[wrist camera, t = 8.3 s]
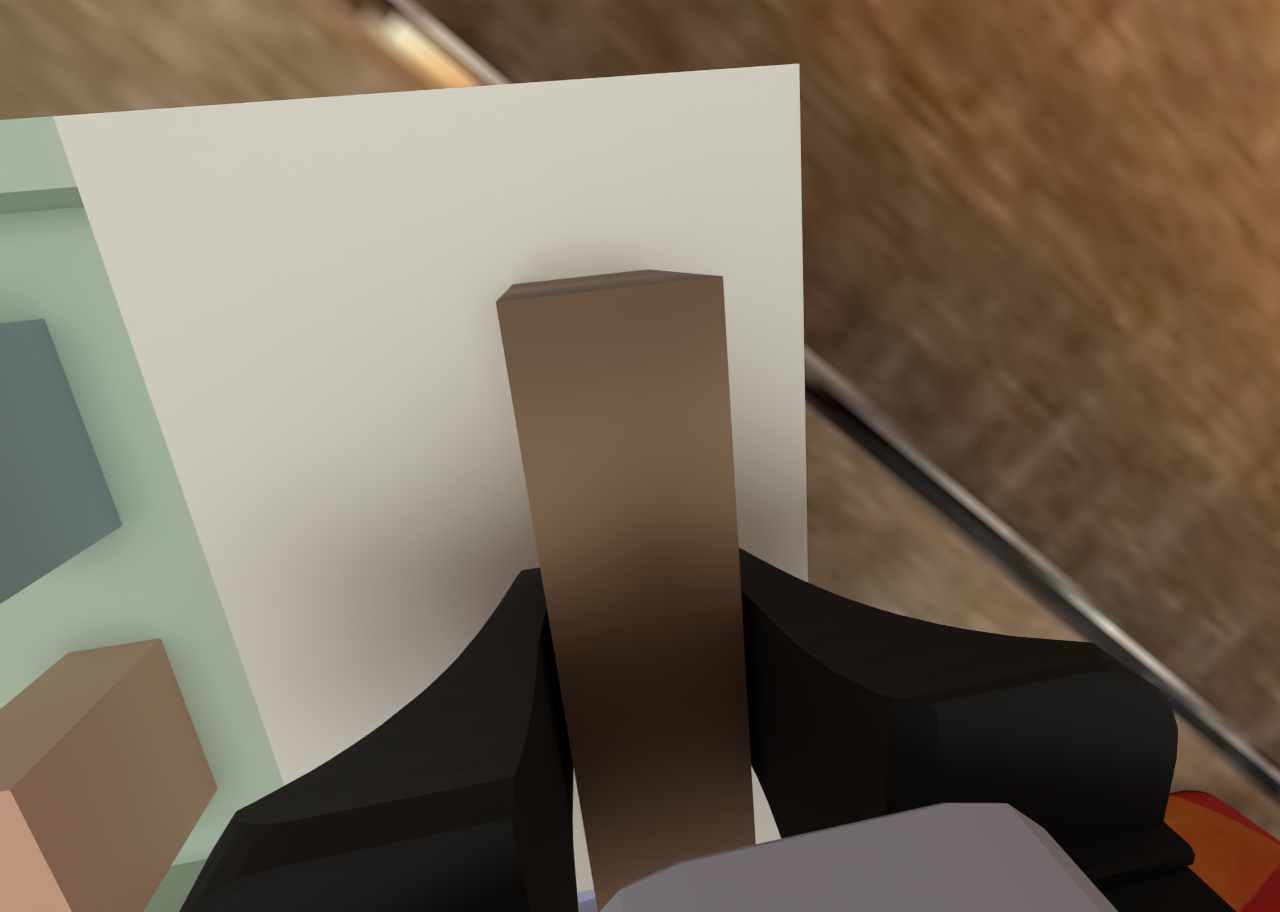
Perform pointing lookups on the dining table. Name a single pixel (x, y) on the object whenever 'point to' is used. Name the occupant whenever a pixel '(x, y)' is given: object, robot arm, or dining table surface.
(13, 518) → the tile
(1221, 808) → the paper cup
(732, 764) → the bar
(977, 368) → the dining table surface
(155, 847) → the tile
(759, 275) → the bench
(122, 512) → the tray
